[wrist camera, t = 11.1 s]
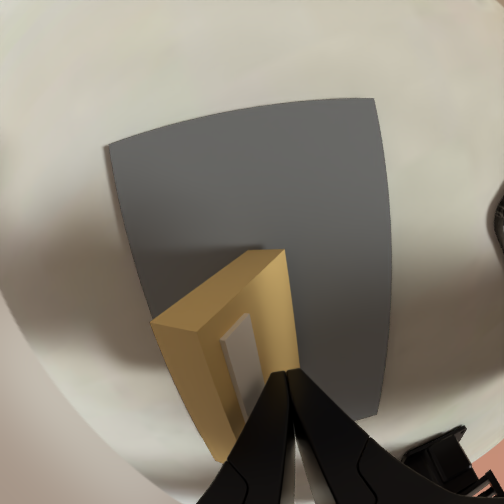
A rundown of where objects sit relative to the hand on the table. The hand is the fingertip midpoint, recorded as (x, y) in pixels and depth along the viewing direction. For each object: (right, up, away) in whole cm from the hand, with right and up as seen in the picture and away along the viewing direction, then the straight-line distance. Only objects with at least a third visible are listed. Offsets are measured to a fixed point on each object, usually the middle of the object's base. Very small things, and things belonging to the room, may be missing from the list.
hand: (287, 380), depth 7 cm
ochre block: (0, +1, +3) cm, 3 cm away
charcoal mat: (0, +1, +4) cm, 4 cm away
